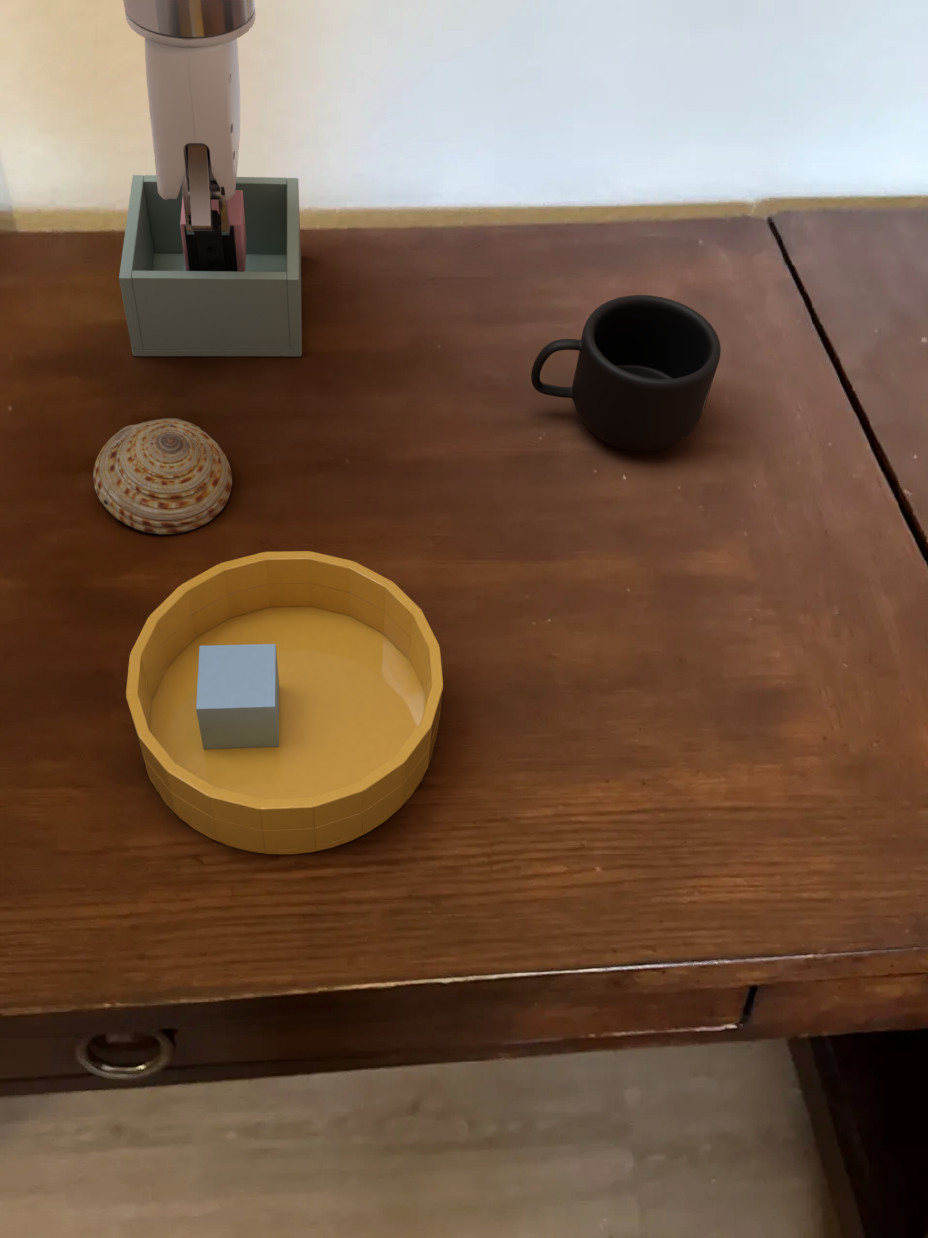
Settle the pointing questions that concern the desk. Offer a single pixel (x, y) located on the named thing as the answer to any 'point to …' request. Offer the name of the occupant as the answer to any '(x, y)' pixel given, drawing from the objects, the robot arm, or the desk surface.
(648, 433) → the mug
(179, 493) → the seashell
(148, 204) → the bin
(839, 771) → the desk surface
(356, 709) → the bowl
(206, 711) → the toy blue
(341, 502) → the desk surface
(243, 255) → the toy pink
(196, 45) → the robot arm
